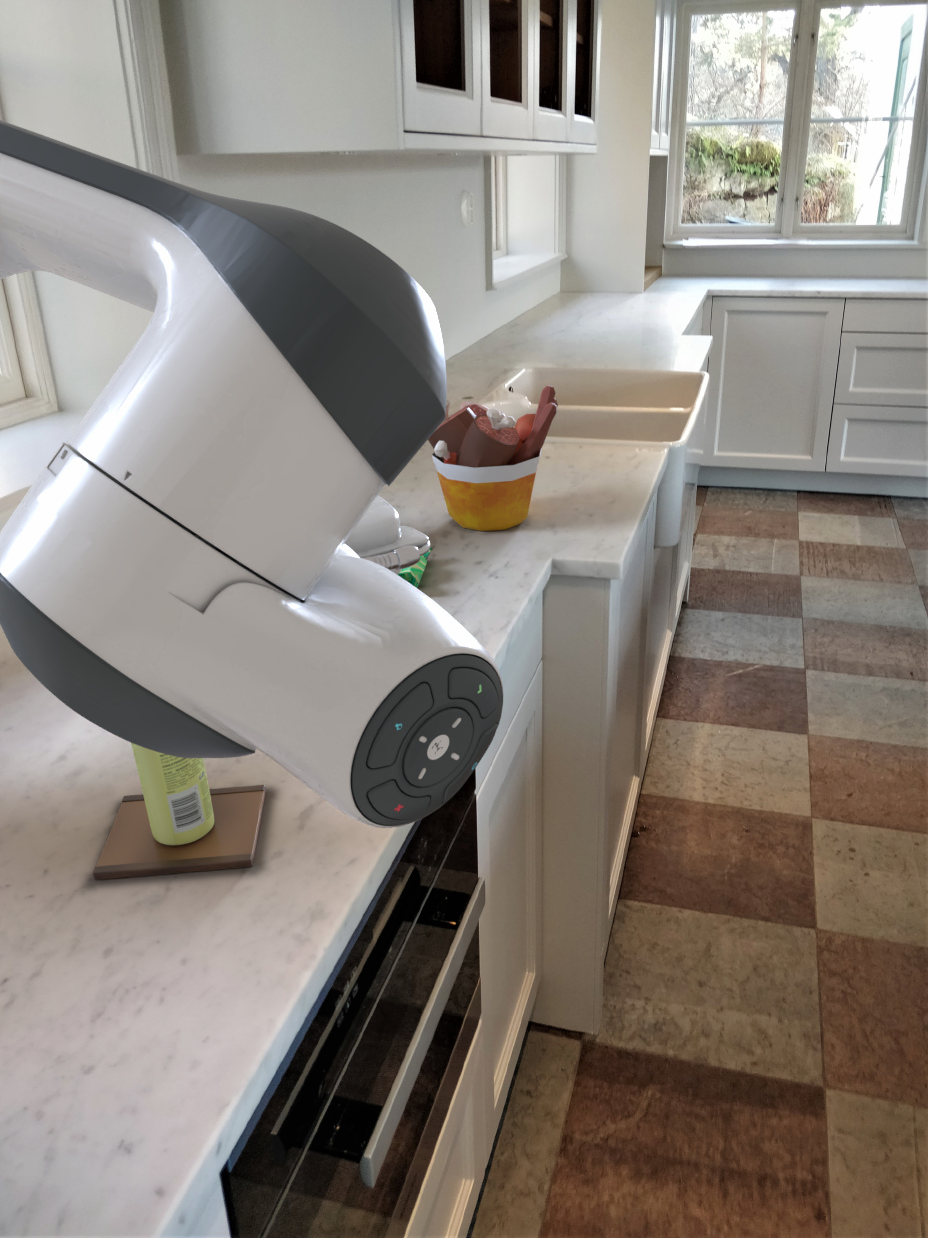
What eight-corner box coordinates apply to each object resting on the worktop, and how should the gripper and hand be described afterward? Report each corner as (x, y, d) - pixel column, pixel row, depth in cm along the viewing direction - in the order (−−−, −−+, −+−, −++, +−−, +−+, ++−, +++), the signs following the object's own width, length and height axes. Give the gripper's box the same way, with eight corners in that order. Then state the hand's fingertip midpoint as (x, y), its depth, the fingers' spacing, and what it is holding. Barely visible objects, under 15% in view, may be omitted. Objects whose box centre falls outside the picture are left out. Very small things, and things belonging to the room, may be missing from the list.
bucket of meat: (415, 535, 139) (406, 398, 130) (441, 499, 153) (435, 373, 145) (552, 541, 135) (552, 399, 126) (566, 503, 149) (567, 374, 141)
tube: (153, 811, 80) (107, 597, 72) (215, 801, 81) (177, 589, 73) (150, 854, 75) (100, 629, 67) (216, 842, 76) (175, 619, 68)
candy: (424, 591, 118) (404, 565, 117) (402, 605, 119) (382, 579, 118) (437, 555, 129) (419, 531, 128) (417, 568, 130) (399, 545, 129)
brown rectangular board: (94, 880, 73) (92, 873, 73) (125, 802, 82) (123, 795, 82) (252, 867, 74) (251, 859, 74) (265, 791, 83) (264, 784, 83)
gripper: (443, 492, 49) (325, 440, 60) (22, 593, 39) (-31, 509, 50) (449, 604, 52) (335, 535, 62) (56, 725, 42) (-1, 619, 53)
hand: (169, 524), depth 56 cm, fingers open, 8 cm apart
